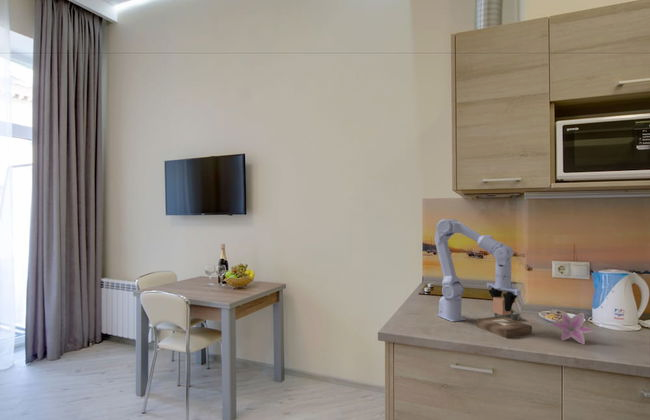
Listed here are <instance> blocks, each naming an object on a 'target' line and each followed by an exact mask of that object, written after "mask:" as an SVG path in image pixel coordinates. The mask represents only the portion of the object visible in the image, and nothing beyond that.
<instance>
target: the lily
mask: <svg viewBox="0 0 650 420" xmlns="http://www.w3.org/2000/svg"><path fill="white" fill-rule="evenodd" d="M561 318H562V320H555V321H552V322H550V325H551V326H552V327H553V328H556V329H558V330H560V331H562V333H561V341H565V340H568V339H569V338H572V339H574V340H575V341H576V342H578V343H579V344H580V343H582V344H584V345H585V343H586V342H585V335H584V334H589V333H592V332H594V330H593V328H590V327H588V326H586V325H583V324H584V321H585V313H584V312H580V313H578V314H575V315H573V316H572V317H571V316H569V315H568V314H567V313H565V312H563V311H562V312H561ZM582 344H581V345H582Z"/></svg>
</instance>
